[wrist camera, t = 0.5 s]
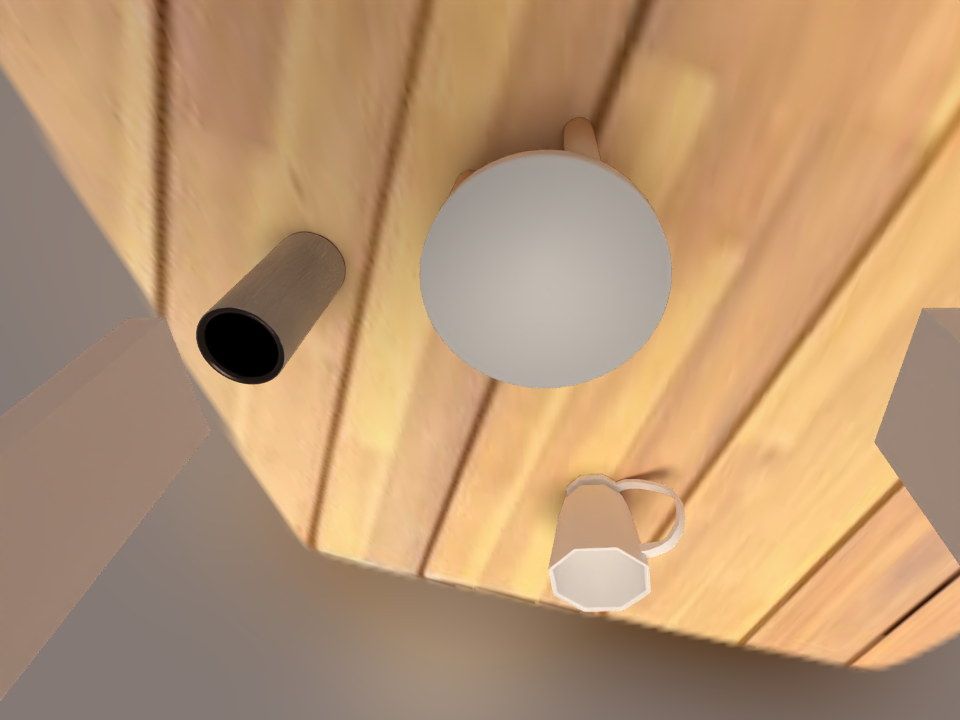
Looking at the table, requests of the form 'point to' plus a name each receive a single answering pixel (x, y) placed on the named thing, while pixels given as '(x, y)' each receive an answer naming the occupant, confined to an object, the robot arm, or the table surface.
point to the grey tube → (271, 309)
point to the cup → (605, 545)
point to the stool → (546, 266)
